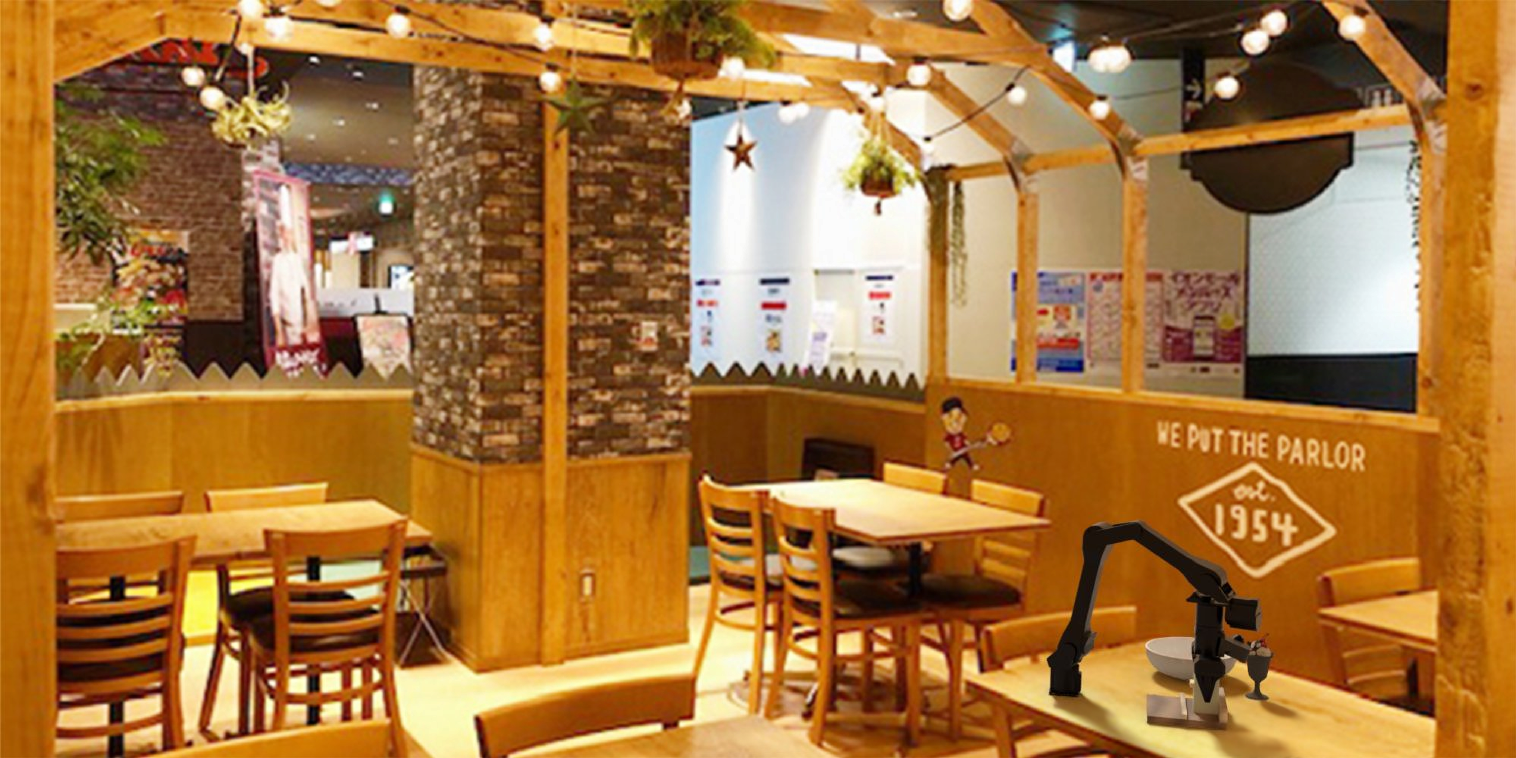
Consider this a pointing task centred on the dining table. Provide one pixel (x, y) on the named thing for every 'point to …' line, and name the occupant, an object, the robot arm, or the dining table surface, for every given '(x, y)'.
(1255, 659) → the sundae
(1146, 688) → the dining table surface
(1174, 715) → the cleat board
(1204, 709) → the cabinet block
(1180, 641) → the serving bowl
